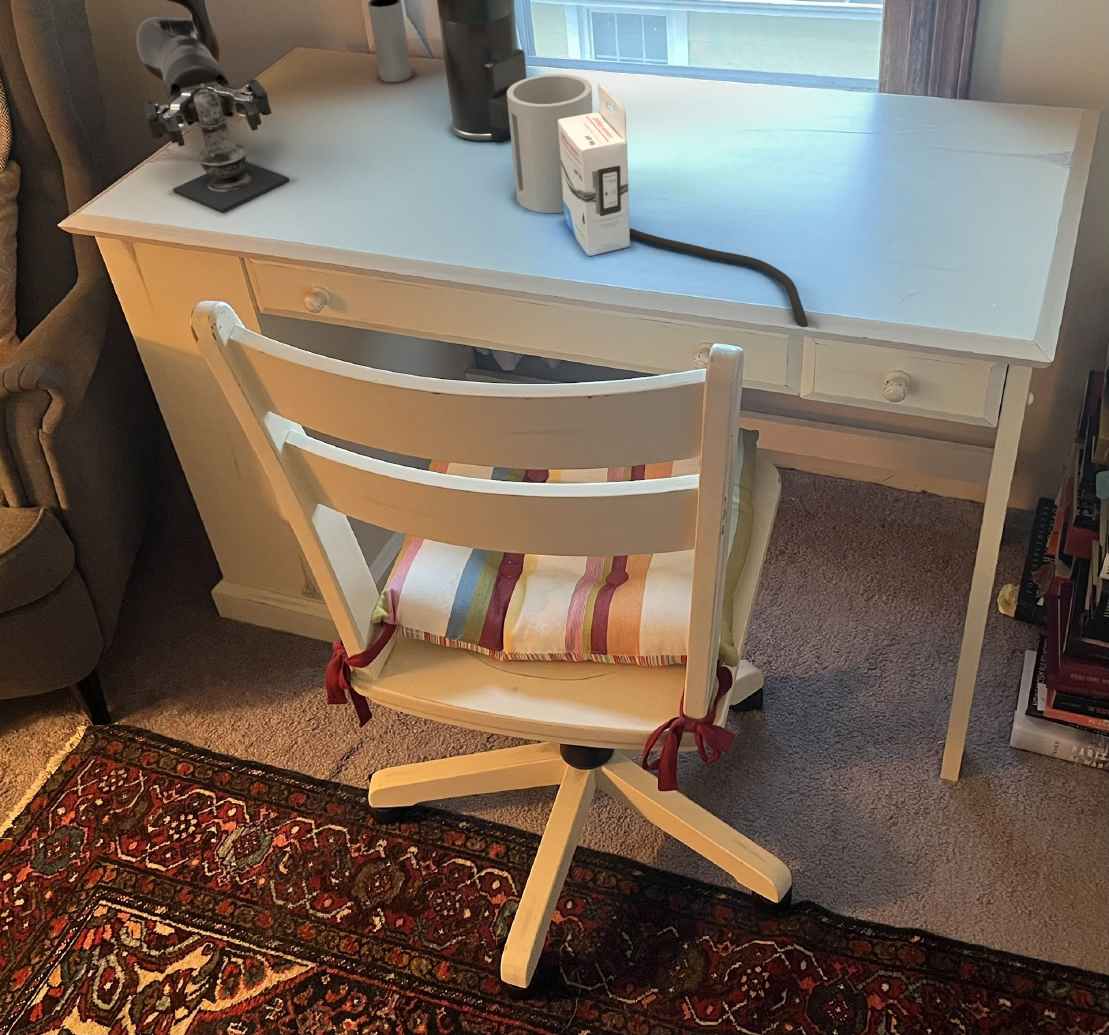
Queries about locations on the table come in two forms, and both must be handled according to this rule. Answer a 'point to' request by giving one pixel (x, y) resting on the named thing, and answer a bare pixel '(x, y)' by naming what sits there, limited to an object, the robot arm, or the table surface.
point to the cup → (542, 135)
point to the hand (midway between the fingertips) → (216, 129)
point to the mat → (229, 200)
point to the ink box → (596, 176)
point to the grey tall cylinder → (390, 40)
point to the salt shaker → (219, 146)
